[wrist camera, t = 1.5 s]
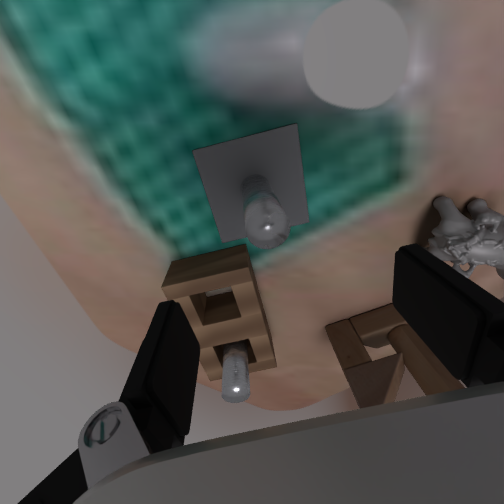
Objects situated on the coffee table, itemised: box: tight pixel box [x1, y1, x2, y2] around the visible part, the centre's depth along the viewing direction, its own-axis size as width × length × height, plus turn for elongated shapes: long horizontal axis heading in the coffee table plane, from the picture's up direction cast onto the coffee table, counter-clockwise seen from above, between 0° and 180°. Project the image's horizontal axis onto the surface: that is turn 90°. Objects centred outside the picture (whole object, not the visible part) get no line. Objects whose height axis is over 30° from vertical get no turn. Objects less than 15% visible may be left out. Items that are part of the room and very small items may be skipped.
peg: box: [241, 175, 290, 249], centre depth 21 cm, size 3×3×10 cm
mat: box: [192, 123, 309, 243], centre depth 25 cm, size 10×10×1 cm
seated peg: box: [222, 339, 250, 403], centre depth 30 cm, size 3×3×10 cm
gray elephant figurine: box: [423, 196, 504, 279], centre depth 26 cm, size 9×12×8 cm
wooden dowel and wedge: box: [326, 304, 465, 409], centre depth 28 cm, size 4×11×18 cm, turn 113°
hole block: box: [161, 244, 277, 381], centre depth 31 cm, size 16×9×5 cm, turn 13°
